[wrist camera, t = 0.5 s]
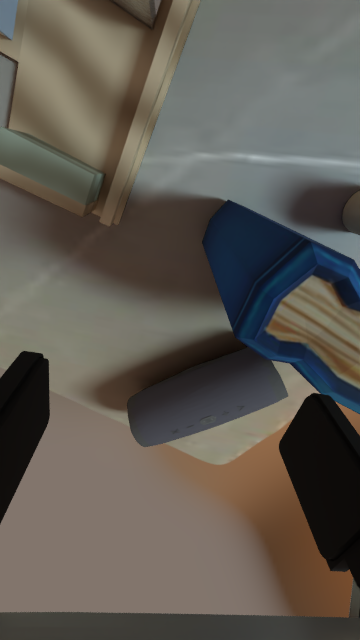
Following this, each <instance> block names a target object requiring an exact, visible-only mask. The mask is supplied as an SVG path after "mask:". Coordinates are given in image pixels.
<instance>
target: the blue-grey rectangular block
mask: <svg viewBox="0 0 360 640" xmlns="http://www.w3.org/2000/svg"><path fill="white" fill-rule="evenodd" d="M17 4H18V0H0V34H2V35H3V36H6V37H7V38H9V39H11V40H12V39H13V32H14V25H15V18H16V11H17Z"/></svg>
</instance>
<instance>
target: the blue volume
mask: <svg viewBox="0 0 360 640" xmlns="http://www.w3.org/2000/svg"><path fill="white" fill-rule="evenodd" d="M202 244H203V247H204V250H205V252H206V255H207V258H208V261H209V264H210V267H211V270H212V272H213V275H214V278H215V281H216V284H217V287H218V290H219V293H220V295H221V298H222V301H223V304H224V307H225V310H226V313H227V315H228V318H229V321H230V324H231V327H232V330H233V333H234V335H235V337H236V338H237V339H238V340H240V341H241V342H242V343H244V344H245V345H246V346H248V347H249V348H250V349H252V350H253V351H254V352H256V353H257V354H259V355H260V356H261V357H263V358H264V359H267V360H273V361H279V362H285V363H290V364H291V365H292V366H293V367H294V368H295V369H296V370H297V371H298V372H299V373H300V374H301V375H302V376H303V377H304V378H305V379H306V380H307V381H308V382H309V383H310V384H311V385H312V386H313V387H314V388H315V389H316V390H317V391H318V392H319V393H321V394H324V395H329V396H331V397H332V398H333V400H334V401H336V402H338V403H340V404H341V405H343V406H345V407H347V408H349V409H351V410H353V411H355V412H357V413H358V414H360V269H359V268H358V266H357V264H356V263H355V261H354V260H353V259H351V258H349V257H347V256H345V255H343V254H341V253H339V252H337V251H335V250H333V249H331V248H329V247H326V246H324V245H322V244H320V243H318V242H316V241H314V240H312V239H310V238H308V237H306V236H304V235H302V234H300V233H298V232H296V231H293V230H291V229H289V228H287V227H285V226H283V225H281V224H279V223H277V222H275V221H273V220H271V219H269V218H267V217H265V216H263V215H260V214H258V213H256V212H254V211H252V210H250V209H248V208H246V207H244V206H241V205H239V204H237V203H235V202H232V201H230V200H227V201H226V202H225V204H224V205H223V206H222V207H221V208H220V209H219V210H218V211H217V212H216V213H215V215H214V216H213V217H212V218H211V219H210V221H209V224H208V227H207V230H206V233H205V236H204V238H203V241H202Z"/></svg>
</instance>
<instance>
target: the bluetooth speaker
mask: <svg viewBox="0 0 360 640" xmlns="http://www.w3.org/2000/svg"><path fill="white" fill-rule="evenodd" d="M286 397H288V393H287V391H286V388H285V386H284V383H283V381H282V379H281V377H280V375H279V373H278V372H277V370H276V368H275V367H274V365H273V363H272V361H271V360H267V359H264V358H263V357H261V356H260V355H259V354H257V353H256V352H254V351H253V350H252V349H250V348H249V347H248V348H245V349H243V350H240V351H237V352H234V353H231V354H229V355H225V356H222V357H220V358H217V359H214V360H212V361H209V362H205V363H202V364H199V365H197V366H194V367H192V368H189V369H187V370H185V371H183V372H181V373H179V374H177V375H175V376H173V377H170V378H168V379H166V380H164V381H161V382H160V383H158V384H155V385H153V386H151V387H149V388H147V389H144V390H143V391H141V392H139V393H137V394H135V395H134V396H132V397H131V398H130V399H129V400H128V403H127V408H128V418H129V424H130V429H131V432H132V434H133V436H134V438H135V440H136V441H137V442H138V443H139V444H140V445H141V446H143V447H148V446H153V445H158V444H162V443H166V442H169V441H172V440H176V439H179V438H182V437H185V436H189V435H192V434H195V433H198V432H201V431H204V430H207V429H210V428H212V427H215V426H218V425H221V424H224V423H226V422H229V421H232V420H234V419H237V418H240V417H242V416H245V415H247V414H250V413H252V412H255V411H257V410H260V409H262V408H265V407H267V406H269V405H272V404H274V403H276V402H278V401H280V400H282V399H284V398H286Z"/></svg>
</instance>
